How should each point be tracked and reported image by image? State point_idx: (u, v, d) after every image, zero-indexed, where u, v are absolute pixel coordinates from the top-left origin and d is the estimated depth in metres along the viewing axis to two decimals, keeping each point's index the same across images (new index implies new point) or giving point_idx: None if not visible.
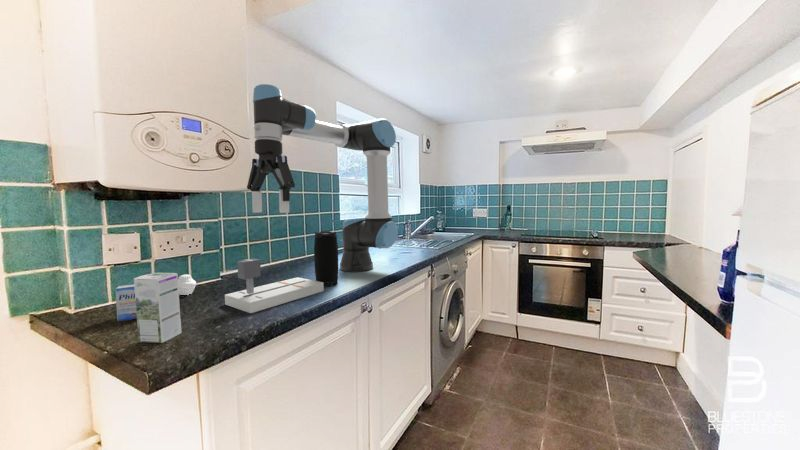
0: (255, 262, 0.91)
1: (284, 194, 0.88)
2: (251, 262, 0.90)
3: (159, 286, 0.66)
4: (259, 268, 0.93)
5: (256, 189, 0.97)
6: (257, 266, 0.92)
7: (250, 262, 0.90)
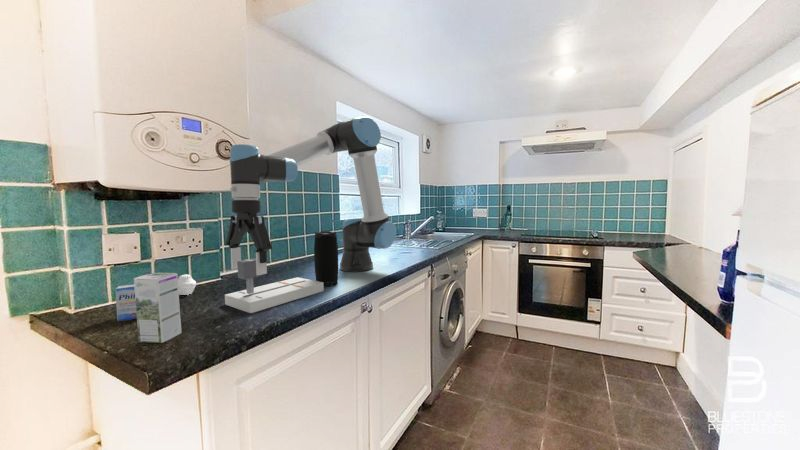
0: (255, 262, 0.91)
1: (261, 256, 0.86)
2: (251, 262, 0.90)
3: (158, 286, 0.66)
4: None
5: (235, 245, 0.95)
6: None
7: (250, 262, 0.90)
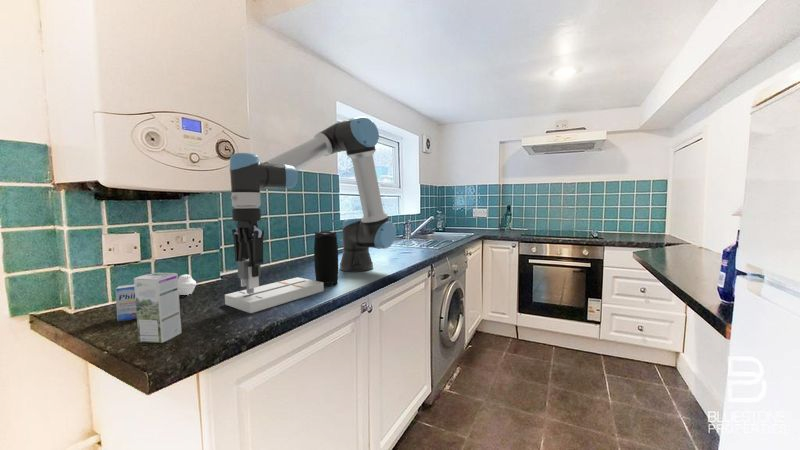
0: None
1: (253, 270, 0.89)
2: None
3: (159, 286, 0.66)
4: (259, 268, 0.93)
5: None
6: None
7: None
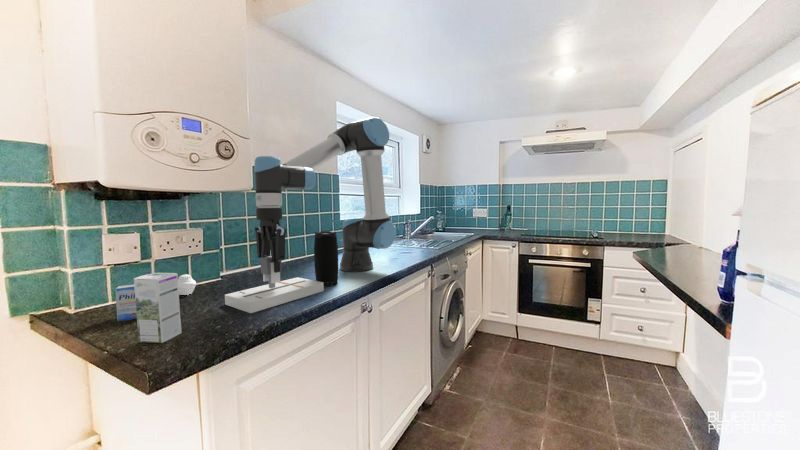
0: None
1: (275, 266, 0.95)
2: None
3: (159, 286, 0.66)
4: (280, 264, 0.98)
5: None
6: None
7: None
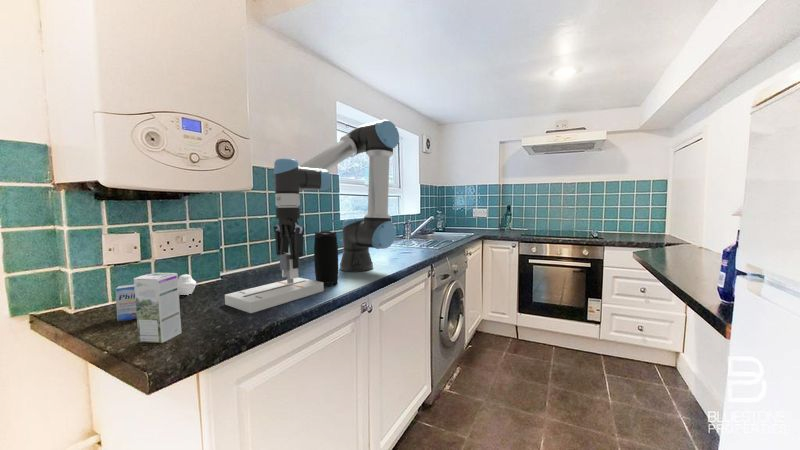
0: None
1: (294, 263, 1.01)
2: None
3: (158, 286, 0.66)
4: (298, 261, 1.04)
5: None
6: None
7: None
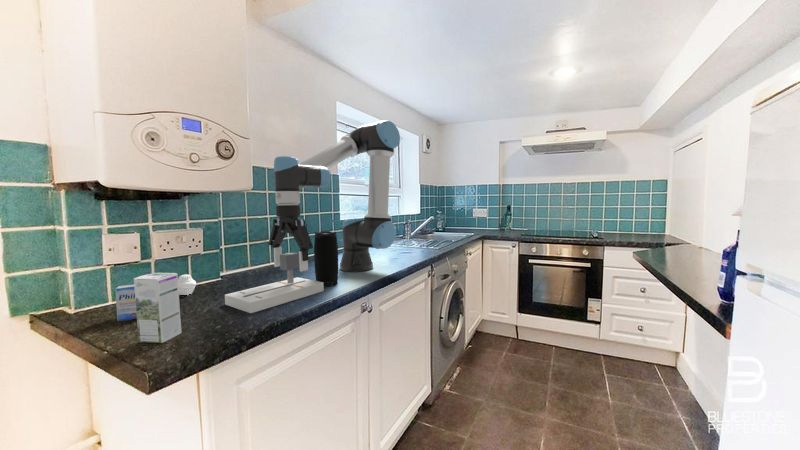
0: (295, 255, 1.03)
1: (303, 255, 0.98)
2: (292, 255, 1.02)
3: (158, 286, 0.66)
4: (298, 261, 1.04)
5: (277, 245, 1.07)
6: (297, 259, 1.03)
7: (291, 255, 1.02)
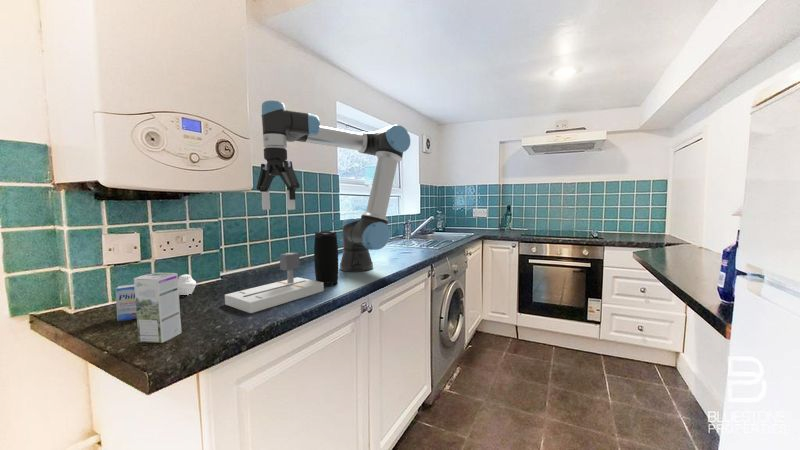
0: (295, 255, 1.03)
1: (291, 194, 1.04)
2: (292, 255, 1.02)
3: (159, 286, 0.66)
4: (298, 261, 1.04)
5: (265, 190, 1.12)
6: (297, 259, 1.03)
7: (291, 255, 1.02)
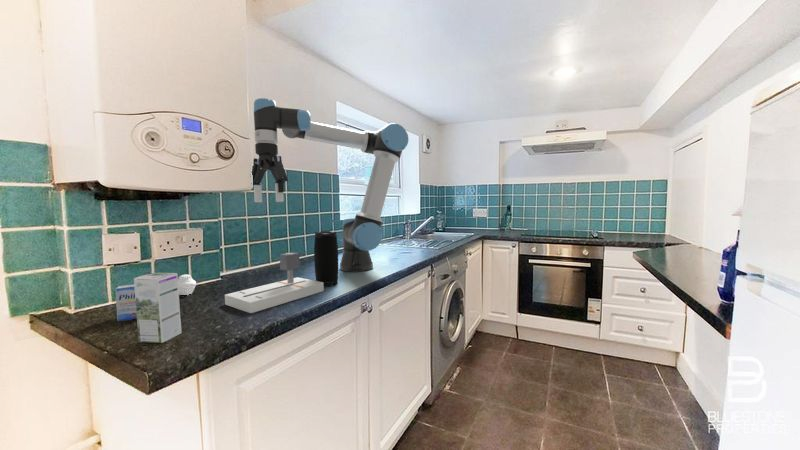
0: (295, 255, 1.03)
1: (279, 187, 1.09)
2: (292, 255, 1.02)
3: (159, 286, 0.66)
4: (298, 261, 1.04)
5: (257, 183, 1.18)
6: (297, 259, 1.03)
7: (291, 255, 1.02)
